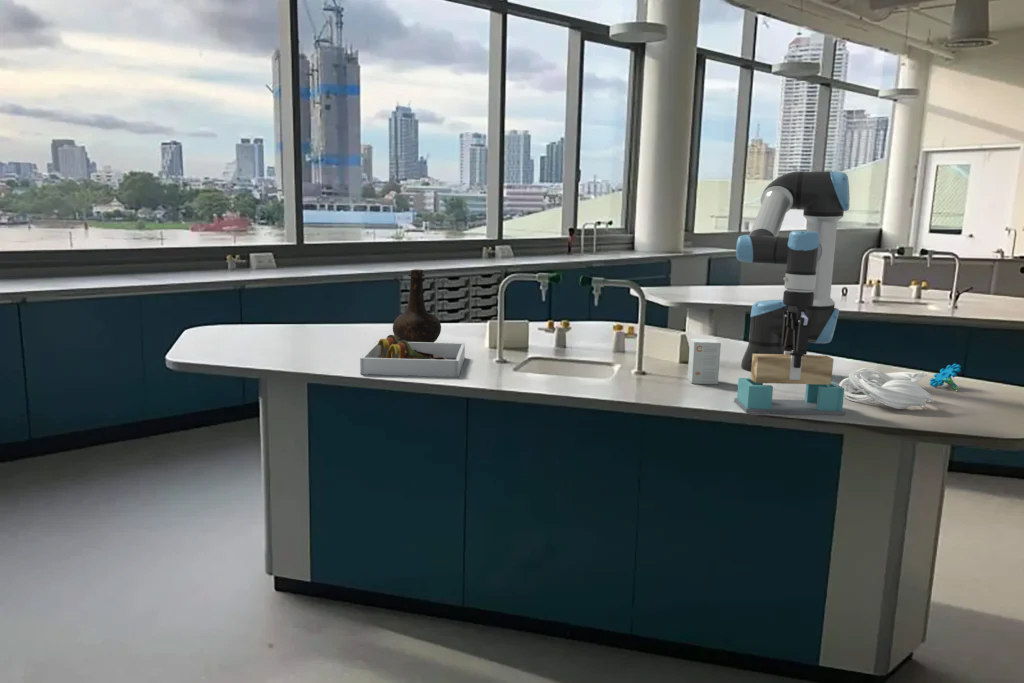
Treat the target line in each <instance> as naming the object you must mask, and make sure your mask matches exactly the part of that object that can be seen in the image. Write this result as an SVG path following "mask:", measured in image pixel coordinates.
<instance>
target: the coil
mask: <svg viewBox="0 0 1024 683" xmlns="http://www.w3.org/2000/svg"><path fill="white" fill-rule="evenodd" d="M927 374H928V373H925V372H924V371H921V372H920V371H919V372H910V371H899V372H898V371H896V372H886V373H885V372H883V371H881V370H879V369H876V368H873V367H864V368H863V367H862V368H859V369H857V370H854V371H852V372H850V373H849V375H848V377H846V378H844V379H841V381H840V382H839V384H838V385H839V386H841V387H843V386H846V387H845V388H844V399H847V400H848V401H852V402H854V403H866V404H867V403H871V402H879V403H880V404H882V405H885V406H887V407H890V408H892V409H898V410H901V409H908V408H910V407H923V408H926V406H927V402H929V403H932V402H934V398H933V397H932V396H931V394H930V393H929V392H928V391H927V390H925V389H924V388H923V387H921V386H920V385H919V384H918V381H919V380H921V379H922V378H924V377H927ZM858 393H863V394H858ZM850 397H851V398H850Z"/></svg>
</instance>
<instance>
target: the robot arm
mask: <svg viewBox="0 0 1024 683" xmlns="http://www.w3.org/2000/svg"><path fill="white" fill-rule="evenodd" d="M760 205H761V206H760V208H759V210H758V212H757V216H756V218H755V220H754V222H753V225H752V227H751V229H750V233H749V234H744V235H740V236H738V237H737V240H736V248H735V256H736V259H737V261H739V262H743V263H749V264H752V263H753V264H770V265H771V264H772V265H773V264H774V265H786V266H785V276H784V277H783V279H782V280H783V281H784V289H785V290H784V291H783V295H782V296H783V297H782V299H768V300H759V301H755V302H754V303H753V304H752V306H751V311H750V323H749V336H748V345H747V346H746V350H745V352H744V354H743V356H742V359H741V362H740V363H741V365H740V367H741V369H743V370H746V371H749V372H751V367H752V355H753V354H785V355H791V362H790V372H789V379H790V380H800V375H801V365H802V356H803V355H808V354H807V353H808V344H809V343H813V344H829V343H830V342H832V340H833V336H834V332H835V330H836V326H837V322H838V318H839V313H840V309H839V308H837V307H835V306H836V302H835V300H833V298H831V293H832V284H833V282H832V281H833V274H834V273H833V272H834V262H835V250H836V238H837V228H838V222H839V221H840V220H841V219H842V218H844V212H847V211H849V210H850V183H849V177H848V174H847V173H845V172H843V171H832V170H828V171H823V170H821V171H798V170H796V171H791V172H787V173H785V174H783V175H780V176H778V177H777V178H775V179H774V180H772V181H771V182H770V183H768V185H766V187H765V188H764V190H763V191H762V194H761V196H760ZM790 210H803V217H804V218H805V220H806V221H807V227H806V228H807V229H806V230H792V231H791V232H789V235H788V236H779V234H780V231H781V228H782V225H783V222H784V220H785V219H784V218H785V217H786V214H787V213H788V212H789V211H790Z"/></svg>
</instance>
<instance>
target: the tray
mask: <svg viewBox="0 0 1024 683" xmlns="http://www.w3.org/2000/svg"><path fill="white" fill-rule="evenodd" d="M378 342H379V340H377V341H376V342H375V343H374V344H373V345H372V346H371V347H370V348H369V349H368V350H367V351H366V352H364V354H363V355H361V357H360V358H359V362H360V363H359V367H360V368H359V369H360V372H359V373H360V375H368V374H382V375H383V374H384V375H383V376H408V375H418V377H454V378H458V377H460V374H461V371H462V370H461V369H462V368H463V367H462V366H463V364H464V361H465V357H466V353H465V352H466V351H465V350H466V345H465V344H466V343H465V342H464V343H463V342H434V343H432V342H408V344H409V345H410V347H411V348H412V350H416V351H418V352H423V353H429V354H433V355H435V358H437V357H443V358H445V359H446V360H435V359H433V358H431V359H396V358H381V355H380V348H381V345H378ZM448 358H449V359H448ZM385 374H386V375H385ZM382 375H381V376H382Z"/></svg>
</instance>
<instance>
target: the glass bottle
mask: <svg viewBox="0 0 1024 683" xmlns="http://www.w3.org/2000/svg"><path fill="white" fill-rule="evenodd" d="M423 272H424V270H423V269H419V268H418V269H415V268H414V269H411V270H410V273H409V274H408V275H407V276H409V277H410V281H409V282H410V284H409V295H408V299H407V300H408V301H407V307H406V309H405V310H404V312H403V313H401V314H399V315H398V316H397V317H396V318H395V320H394V321H393V324H392V332H393V335H395V336H396V337H397V339H398V340H399V342H400V341H402V340H406V341H407V342H432V343H436V341H437V340H438V338H439V337H440V334H441V332H442V324H441V321H440V319H439V318H438V317H437V316H436V315H434V314H432V313H430V312H428V311H427V309H426V305H425V298H424V297H425V296H424V285H423V284H424V281H423V277H425V276H426V275H425V274H424V273H423Z"/></svg>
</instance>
